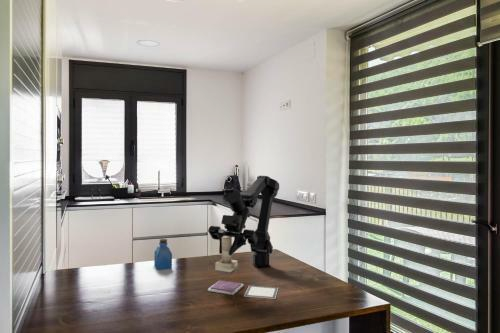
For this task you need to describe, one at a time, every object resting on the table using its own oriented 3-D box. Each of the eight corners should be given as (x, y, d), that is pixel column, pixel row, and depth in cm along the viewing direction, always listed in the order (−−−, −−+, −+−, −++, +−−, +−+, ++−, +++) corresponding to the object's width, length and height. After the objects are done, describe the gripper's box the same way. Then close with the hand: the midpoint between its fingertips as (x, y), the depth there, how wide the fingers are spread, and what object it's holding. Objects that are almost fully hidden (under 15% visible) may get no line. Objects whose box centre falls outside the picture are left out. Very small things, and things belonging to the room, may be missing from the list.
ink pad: (219, 282, 149) (219, 279, 149) (243, 286, 145) (243, 282, 145) (207, 291, 139) (207, 287, 139) (233, 295, 136) (233, 291, 136)
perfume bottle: (154, 266, 169) (154, 238, 169) (168, 264, 171) (168, 237, 171) (157, 270, 163) (157, 241, 163) (171, 268, 166) (172, 240, 166)
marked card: (249, 285, 146) (249, 285, 146) (278, 288, 144) (278, 287, 144) (243, 296, 135) (243, 295, 135) (275, 298, 133) (275, 298, 133)
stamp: (223, 267, 146) (223, 234, 145) (237, 269, 144) (237, 236, 143) (215, 272, 141) (215, 238, 140) (229, 274, 138) (230, 239, 138)
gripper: (210, 204, 149) (194, 238, 139) (255, 208, 141) (241, 244, 131) (220, 222, 156) (205, 255, 146) (263, 226, 148) (250, 262, 139)
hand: (224, 254), depth 141 cm, fingers closed on stamp, 4 cm apart
